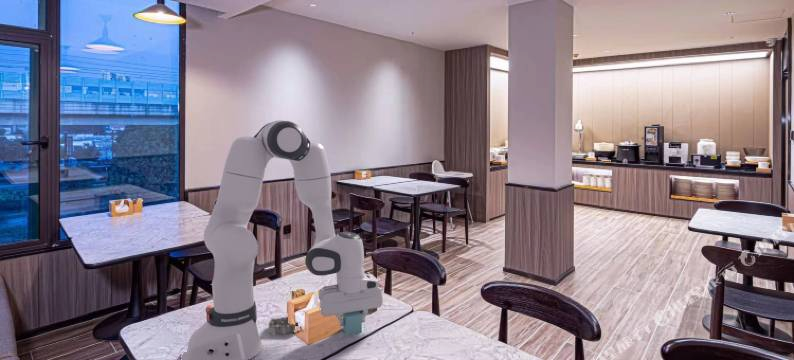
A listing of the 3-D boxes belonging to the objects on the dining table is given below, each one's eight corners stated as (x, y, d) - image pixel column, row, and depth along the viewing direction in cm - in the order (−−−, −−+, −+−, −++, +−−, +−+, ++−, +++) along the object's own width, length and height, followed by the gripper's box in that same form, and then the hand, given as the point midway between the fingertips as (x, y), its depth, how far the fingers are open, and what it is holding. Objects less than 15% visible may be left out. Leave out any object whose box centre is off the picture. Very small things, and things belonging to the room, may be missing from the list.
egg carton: (304, 324, 147) (304, 312, 146) (300, 335, 140) (299, 323, 139) (272, 324, 147) (272, 313, 146) (266, 335, 139) (265, 323, 139)
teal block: (346, 335, 139) (346, 317, 138) (343, 328, 143) (342, 310, 142) (361, 332, 140) (361, 314, 140) (357, 325, 145) (357, 308, 144)
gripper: (320, 291, 133) (321, 333, 135) (383, 281, 140) (384, 322, 142) (316, 283, 139) (318, 325, 141) (377, 275, 146) (378, 314, 148)
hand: (352, 323), depth 142 cm, fingers open, 5 cm apart
